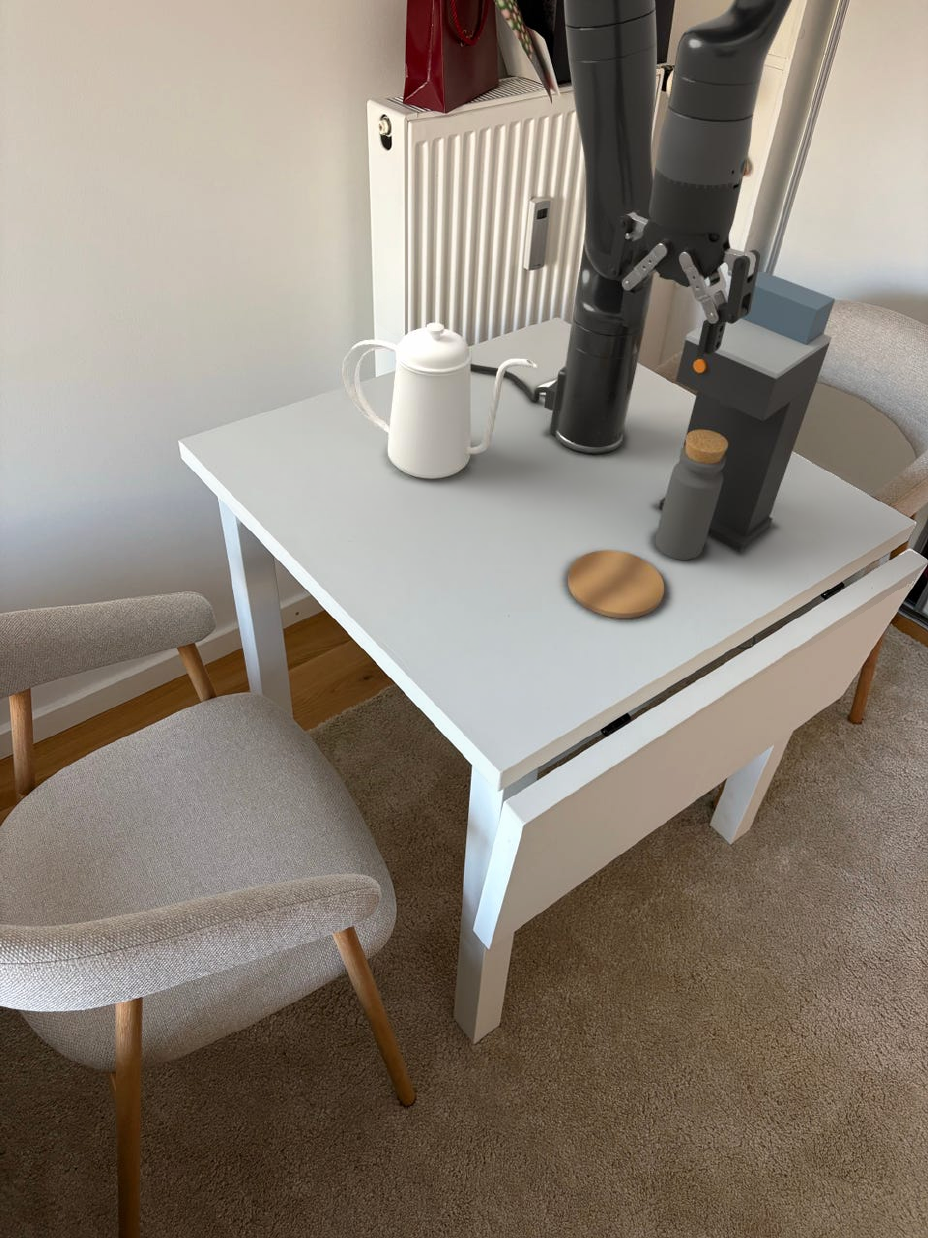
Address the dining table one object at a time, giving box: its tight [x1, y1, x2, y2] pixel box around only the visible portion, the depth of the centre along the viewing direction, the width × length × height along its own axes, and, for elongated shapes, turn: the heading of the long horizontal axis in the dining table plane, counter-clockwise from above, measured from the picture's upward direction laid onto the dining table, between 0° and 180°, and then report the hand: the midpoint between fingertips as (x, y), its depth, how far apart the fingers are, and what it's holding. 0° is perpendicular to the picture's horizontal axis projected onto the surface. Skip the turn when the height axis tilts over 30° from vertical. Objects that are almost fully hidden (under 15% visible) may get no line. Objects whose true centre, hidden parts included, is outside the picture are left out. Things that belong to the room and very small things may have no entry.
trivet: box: [567, 549, 665, 619], centre depth 113 cm, size 11×11×1 cm
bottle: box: [654, 429, 728, 561], centre depth 115 cm, size 6×6×15 cm
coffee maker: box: [658, 270, 836, 552], centre depth 113 cm, size 12×12×30 cm
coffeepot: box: [341, 322, 539, 479], centre depth 124 cm, size 11×25×19 cm, turn 71°
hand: (667, 339), depth 96 cm, fingers open, 8 cm apart
